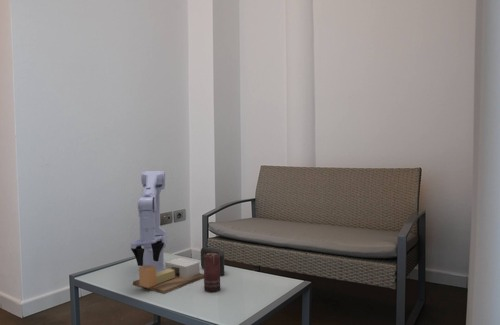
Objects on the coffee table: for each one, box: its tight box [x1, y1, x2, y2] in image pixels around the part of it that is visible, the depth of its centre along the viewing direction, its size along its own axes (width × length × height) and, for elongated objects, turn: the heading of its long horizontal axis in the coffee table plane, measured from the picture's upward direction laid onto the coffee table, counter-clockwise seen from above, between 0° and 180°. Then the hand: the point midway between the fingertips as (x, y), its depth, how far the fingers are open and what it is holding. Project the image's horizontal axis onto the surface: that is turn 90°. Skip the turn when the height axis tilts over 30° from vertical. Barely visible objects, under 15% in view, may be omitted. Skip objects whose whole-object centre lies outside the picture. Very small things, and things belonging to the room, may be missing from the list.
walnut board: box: [132, 272, 204, 294], centre depth 165 cm, size 18×23×1 cm
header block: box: [164, 257, 201, 279], centre depth 171 cm, size 12×8×5 cm, turn 54°
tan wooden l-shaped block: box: [138, 265, 175, 288], centre depth 160 cm, size 5×14×7 cm, turn 144°
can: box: [203, 252, 221, 293], centre depth 155 cm, size 6×6×14 cm
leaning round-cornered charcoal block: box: [200, 246, 225, 276], centre depth 178 cm, size 16×5×9 cm, turn 40°
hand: (148, 263), depth 156 cm, fingers open, 7 cm apart
